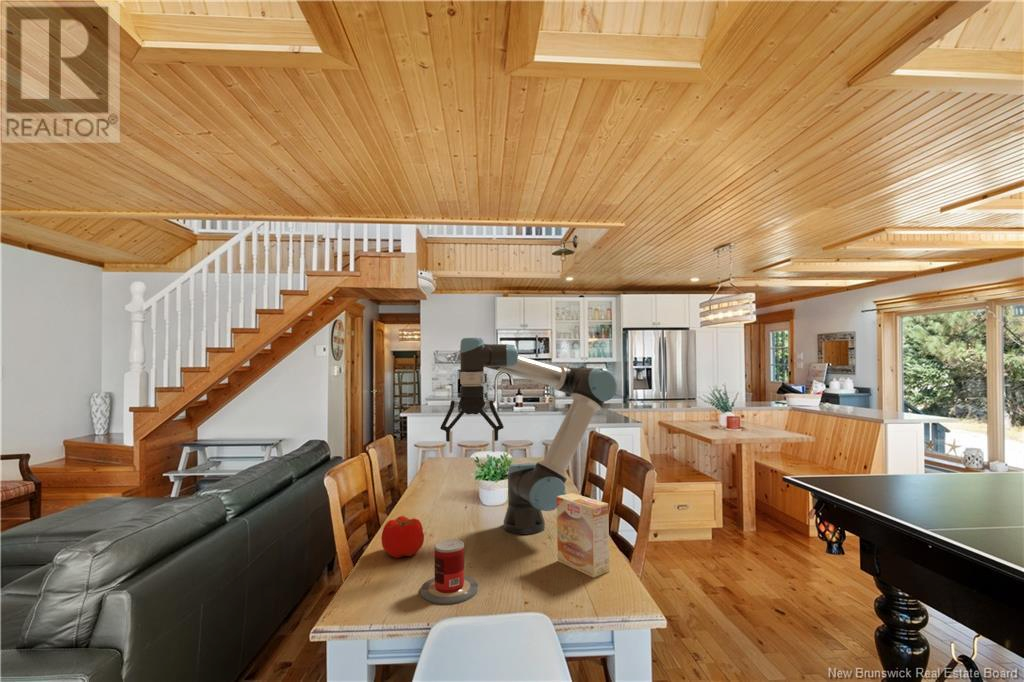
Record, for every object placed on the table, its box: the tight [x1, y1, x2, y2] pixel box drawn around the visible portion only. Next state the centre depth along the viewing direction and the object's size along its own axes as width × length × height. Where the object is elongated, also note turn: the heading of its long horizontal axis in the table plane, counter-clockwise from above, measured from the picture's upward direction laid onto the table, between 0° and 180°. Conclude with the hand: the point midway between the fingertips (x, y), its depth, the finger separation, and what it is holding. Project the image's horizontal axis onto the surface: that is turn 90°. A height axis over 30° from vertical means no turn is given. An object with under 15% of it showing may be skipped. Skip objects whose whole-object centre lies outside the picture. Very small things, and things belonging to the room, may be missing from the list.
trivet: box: [420, 575, 479, 605], centre depth 127 cm, size 15×15×1 cm
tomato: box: [380, 515, 425, 559], centre depth 153 cm, size 14×13×10 cm
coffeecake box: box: [556, 492, 610, 579], centre depth 142 cm, size 15×7×20 cm, turn 37°
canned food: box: [434, 538, 465, 593], centre depth 128 cm, size 8×8×11 cm
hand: (472, 451), depth 155 cm, fingers open, 13 cm apart
